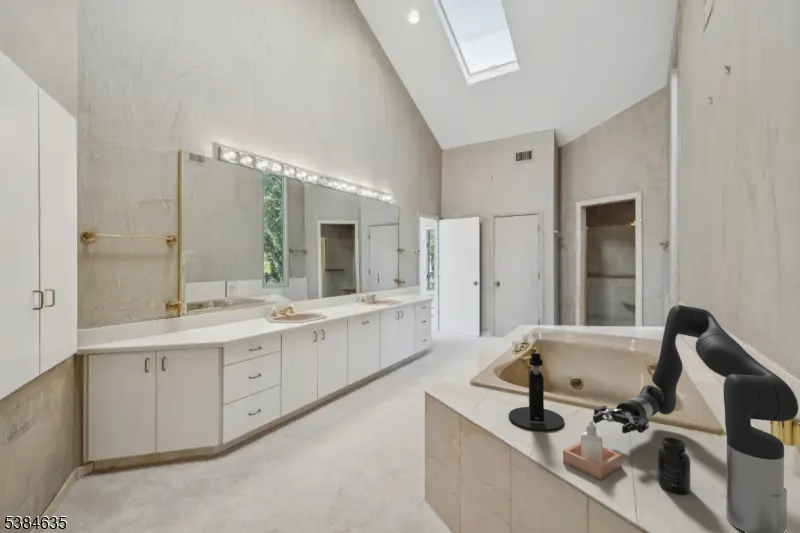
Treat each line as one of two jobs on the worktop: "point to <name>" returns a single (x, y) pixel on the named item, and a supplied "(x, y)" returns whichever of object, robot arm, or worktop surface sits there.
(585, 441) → the eye dropper bottle
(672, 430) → the worktop surface
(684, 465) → the supplement bottle
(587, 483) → the worktop surface
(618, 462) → the tray
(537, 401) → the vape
